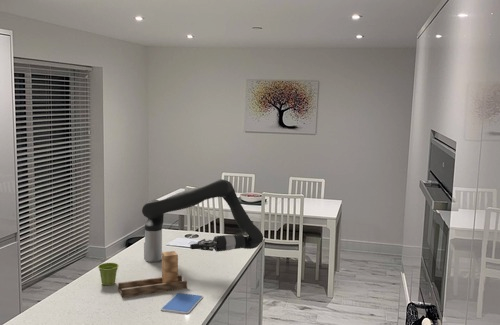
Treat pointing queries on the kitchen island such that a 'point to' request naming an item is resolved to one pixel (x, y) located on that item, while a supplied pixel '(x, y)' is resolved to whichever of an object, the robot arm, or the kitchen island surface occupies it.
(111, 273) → the plant pot
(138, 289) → the chute
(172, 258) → the block
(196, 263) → the kitchen island surface
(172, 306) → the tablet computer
